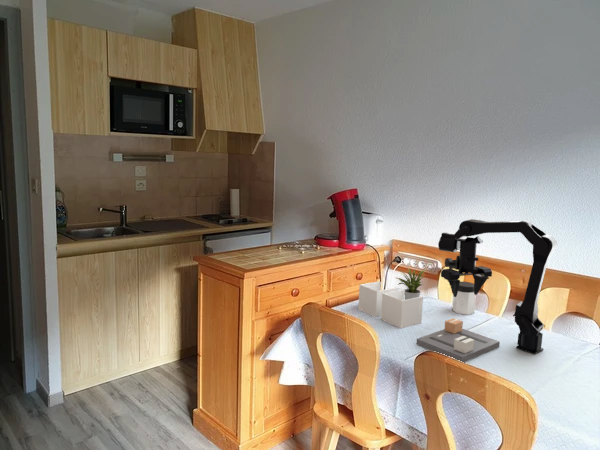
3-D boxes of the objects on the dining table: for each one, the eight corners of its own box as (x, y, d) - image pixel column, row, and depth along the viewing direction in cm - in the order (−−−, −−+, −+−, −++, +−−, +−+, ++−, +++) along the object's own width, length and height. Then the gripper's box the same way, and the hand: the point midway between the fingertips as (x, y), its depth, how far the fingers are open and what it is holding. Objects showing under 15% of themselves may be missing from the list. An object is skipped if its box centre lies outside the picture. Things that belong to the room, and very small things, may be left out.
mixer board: (499, 347, 160) (499, 341, 160) (462, 363, 147) (462, 356, 146) (453, 330, 174) (454, 325, 174) (416, 344, 161) (416, 338, 160)
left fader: (473, 349, 152) (474, 339, 151) (464, 353, 148) (465, 342, 148) (462, 345, 155) (463, 335, 154) (453, 349, 152) (454, 338, 151)
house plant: (409, 297, 215) (411, 262, 213) (435, 304, 205) (437, 268, 202) (389, 302, 206) (391, 266, 204) (415, 311, 195) (417, 273, 193)
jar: (450, 312, 195) (452, 284, 193) (454, 307, 202) (456, 280, 200) (472, 316, 191) (474, 288, 189) (475, 310, 198) (478, 283, 196)
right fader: (462, 330, 168) (462, 321, 168) (454, 333, 165) (454, 323, 165) (452, 327, 171) (453, 317, 171) (444, 330, 168) (445, 320, 168)
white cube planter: (358, 309, 196) (359, 284, 195) (378, 305, 202) (379, 281, 200) (400, 328, 175) (402, 300, 174) (421, 323, 181) (423, 296, 180)
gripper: (473, 248, 180) (471, 287, 182) (432, 251, 174) (430, 291, 176) (494, 254, 169) (491, 295, 172) (451, 257, 163) (449, 300, 165)
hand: (465, 295), depth 171 cm, fingers open, 9 cm apart
